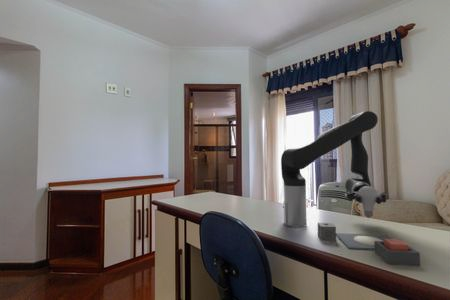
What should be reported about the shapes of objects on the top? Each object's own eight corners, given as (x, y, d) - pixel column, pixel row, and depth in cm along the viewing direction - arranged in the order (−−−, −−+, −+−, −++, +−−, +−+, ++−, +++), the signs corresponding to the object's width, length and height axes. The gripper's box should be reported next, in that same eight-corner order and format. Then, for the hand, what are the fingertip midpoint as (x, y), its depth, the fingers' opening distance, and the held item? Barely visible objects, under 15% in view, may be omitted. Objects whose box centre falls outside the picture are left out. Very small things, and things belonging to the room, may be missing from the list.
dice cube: (331, 236, 90) (331, 222, 90) (336, 241, 85) (335, 226, 85) (318, 235, 90) (317, 222, 91) (321, 240, 86) (320, 226, 86)
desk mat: (348, 248, 78) (348, 246, 78) (335, 234, 91) (335, 232, 91) (409, 251, 75) (409, 249, 75) (386, 236, 89) (386, 234, 89)
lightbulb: (379, 221, 79) (378, 187, 79) (358, 218, 82) (357, 186, 82) (378, 216, 84) (378, 185, 84) (359, 214, 88) (358, 184, 88)
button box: (388, 264, 67) (387, 251, 67) (374, 252, 75) (374, 241, 75) (420, 265, 65) (419, 252, 65) (402, 253, 73) (402, 242, 73)
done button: (391, 252, 68) (391, 244, 68) (383, 246, 73) (383, 238, 73) (408, 253, 68) (408, 244, 68) (399, 247, 72) (399, 239, 72)
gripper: (342, 182, 99) (345, 188, 84) (383, 183, 94) (394, 190, 78) (343, 200, 99) (345, 209, 84) (383, 202, 94) (394, 213, 78)
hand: (369, 200), depth 81 cm, fingers closed on lightbulb, 5 cm apart
